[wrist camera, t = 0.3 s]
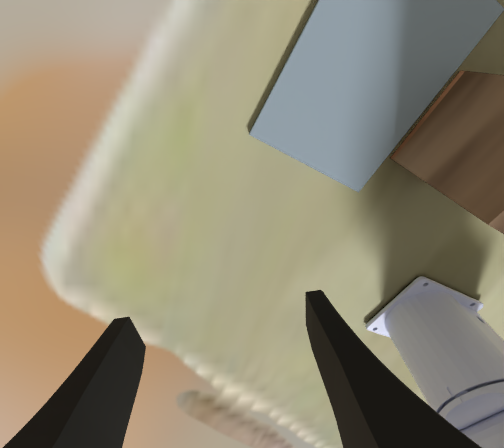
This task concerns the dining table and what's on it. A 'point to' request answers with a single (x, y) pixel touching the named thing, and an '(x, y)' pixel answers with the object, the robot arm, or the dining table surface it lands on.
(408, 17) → the mat
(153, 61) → the dining table surface
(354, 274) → the dining table surface
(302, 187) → the dining table surface
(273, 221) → the dining table surface
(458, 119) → the brown wooden block
